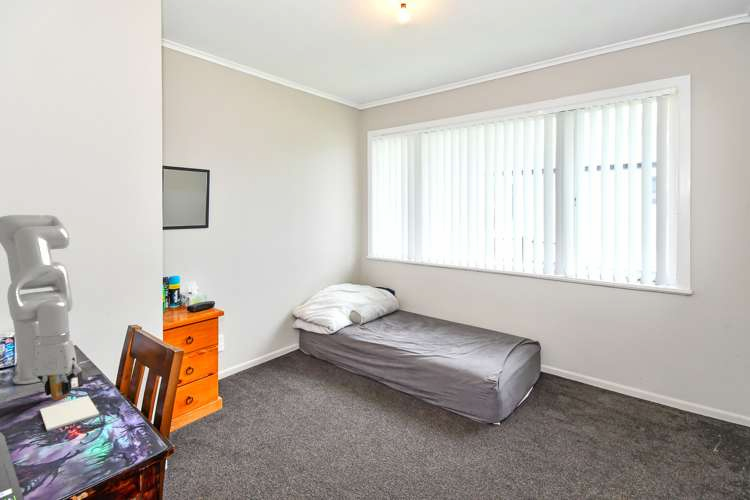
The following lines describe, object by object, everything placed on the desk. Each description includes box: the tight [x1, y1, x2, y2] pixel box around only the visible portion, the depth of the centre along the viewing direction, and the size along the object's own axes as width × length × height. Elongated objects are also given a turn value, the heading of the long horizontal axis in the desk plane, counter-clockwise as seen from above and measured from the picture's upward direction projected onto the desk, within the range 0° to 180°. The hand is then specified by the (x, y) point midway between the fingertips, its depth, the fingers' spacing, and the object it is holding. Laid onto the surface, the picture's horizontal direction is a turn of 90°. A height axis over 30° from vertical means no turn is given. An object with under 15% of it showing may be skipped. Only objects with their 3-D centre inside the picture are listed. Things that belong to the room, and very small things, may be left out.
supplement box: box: [49, 375, 68, 401], centre depth 124 cm, size 3×3×10 cm
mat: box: [39, 395, 100, 432], centre depth 115 cm, size 16×12×1 cm
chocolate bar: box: [71, 370, 84, 390], centre depth 137 cm, size 9×1×18 cm
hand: (58, 392), depth 124 cm, fingers closed on supplement box, 4 cm apart
